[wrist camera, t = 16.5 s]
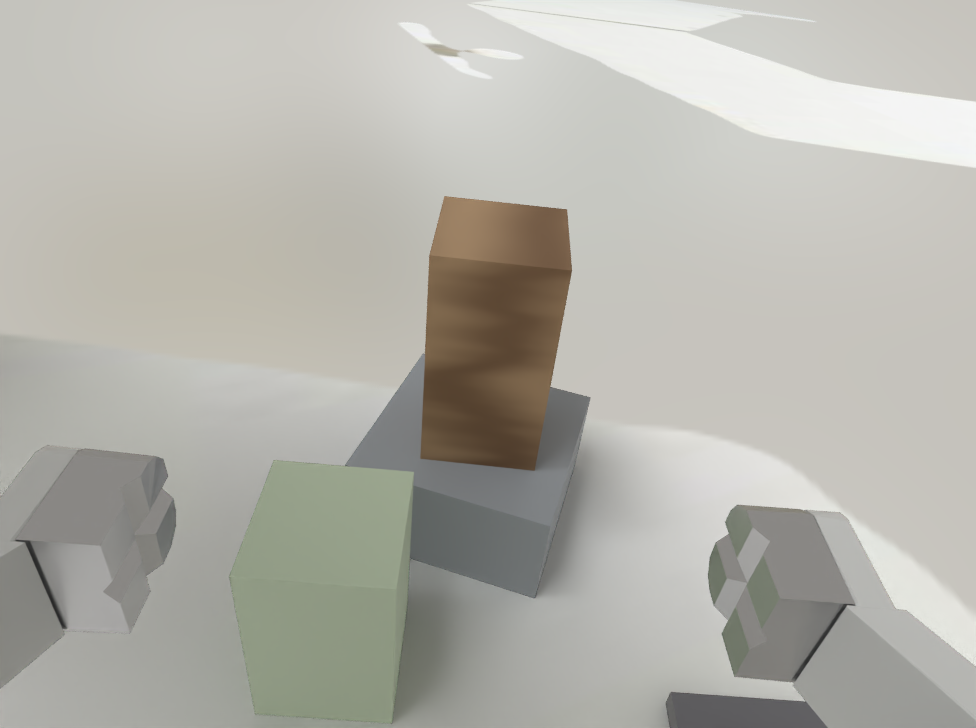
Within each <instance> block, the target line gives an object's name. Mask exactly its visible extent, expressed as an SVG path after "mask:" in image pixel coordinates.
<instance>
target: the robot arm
mask: <svg viewBox="0 0 976 728" xmlns="http://www.w3.org/2000/svg"><path fill="white" fill-rule="evenodd" d="M167 477H168V474H167V470H166V467H165V463H164V460H163V459H162V458H159V457H156V456H148V455H139V454H130V453H120V452H111V451H102V450H93V449H78V448H68V447H59V446H50V445H47V446H45V447H43V448H42V449H40V450H38V451H37V452H35V453H34V455H33V456H32V457H31V458H30V460H29V461H28V462H27V464H26V465H25V466H24V467H23V469H22V470H21V471H20V473H19V474H18V475H17V476H16V478H15V479H14V480H13V482H12V483H11V484H10V485H9V487H8V488H7V489H6V491H5V492H4V493H3V494H2V496H1V497H0V689H1V688H2V687H3V686H4V685H6V684H7V683H8V682H9V681H10V680H11V679H13V678H14V677H15V676H16V675H17V674H19V673H20V672H21V671H22V670H23V669H24V668H26V667H27V666H28V665H29V664H30V663H32V662H33V661H34V660H35V659H36V658H37V657H39V656H40V655H41V654H42V653H43V652H45V651H46V650H47V649H48V648H49V647H50V646H52V645H53V644H54V643H55V642H56V641H58V640H59V639H60V638H61V637H62V636H63V635H64V631H80V632H103V633H125V634H130V633H131V631H132V629H133V627H134V625H135V622H136V620H137V618H138V616H139V614H140V612H141V610H142V608H143V606H144V604H145V601H146V599H147V597H148V595H149V593H150V588H149V584H148V580H147V577H146V576H147V575H148V574H150V573H151V572H152V571H154V570H155V569H157V568H158V567H159V566H161V565H162V564H163V563H164V561H165V559H166V557H167V554H168V552H169V550H170V548H171V544H172V540H173V536H174V531H175V527H176V509H175V505H174V500H173V498H172V497H171V496H170V495H169V494H168V493H167V492H166V491H164V490H163V489H162V487H163V485H164V483H165V481H166V479H167ZM725 523H726V526H727V529H728V532H729V534H728V535H727V536H725V537H724V538H722V539H721V540H719V541H717V542H716V543H715V546H714V548H713V551H712V553H711V556H710V561H709V571H708V579H709V588H710V593H711V597H712V601H713V604H714V606H715V607H716V608H717V609H718V610H719V611H720V613H721V614H722V615H723V616H724V617H725V618H726V619H727V620H728V622H727V624H726V626H725V628H724V630H723V632H722V636H723V639H724V643H725V646H726V650H727V653H728V656H729V660H730V663H731V667H732V670H733V674H734V677H743V678H753V679H763V680H774V681H784V682H794V684H793V686H794V688H795V689H796V690H797V691H798V692H799V694H800V695H801V696H802V697H803V698H804V700H805V701H806V702H807V703H808V704H809V706H810V707H811V708H812V709H813V710H814V712H815V713H816V714H817V715H818V716H819V718H820V719H821V720H822V721H823V723H824V724H825V725H826V726H827V727H828V728H976V666H974V665H973V664H972V663H971V662H969V661H968V660H967V659H966V658H965V657H963V656H962V655H961V654H960V653H958V652H957V651H956V650H955V649H953V648H952V647H951V646H950V645H949V644H947V643H946V642H945V641H944V640H942V639H941V638H940V637H939V636H937V635H936V634H935V633H934V632H933V631H931V630H930V629H929V628H928V627H926V626H925V625H924V624H923V623H921V622H920V621H919V620H918V619H917V618H915V617H914V616H913V615H912V614H910V613H909V612H908V611H907V610H899V609H896V608H895V607H894V605H893V603H892V601H891V599H890V597H889V595H888V593H887V592H886V590H885V588H884V586H883V584H882V582H881V580H880V578H879V577H878V575H877V573H876V571H875V569H874V567H873V565H872V563H871V561H870V560H869V558H868V556H867V554H866V552H865V550H864V548H863V546H862V545H861V543H860V541H859V539H858V537H857V535H856V533H855V531H854V530H853V528H852V526H851V524H850V522H849V520H848V519H847V518H846V517H845V516H844V515H843V514H841V513H840V512H827V511H814V510H801V509H789V508H775V507H761V506H748V505H737V506H735V507H734V508H733V509H732V510H731V511H730V513H729V515H728V517H727V519H726V522H725Z"/></svg>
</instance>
